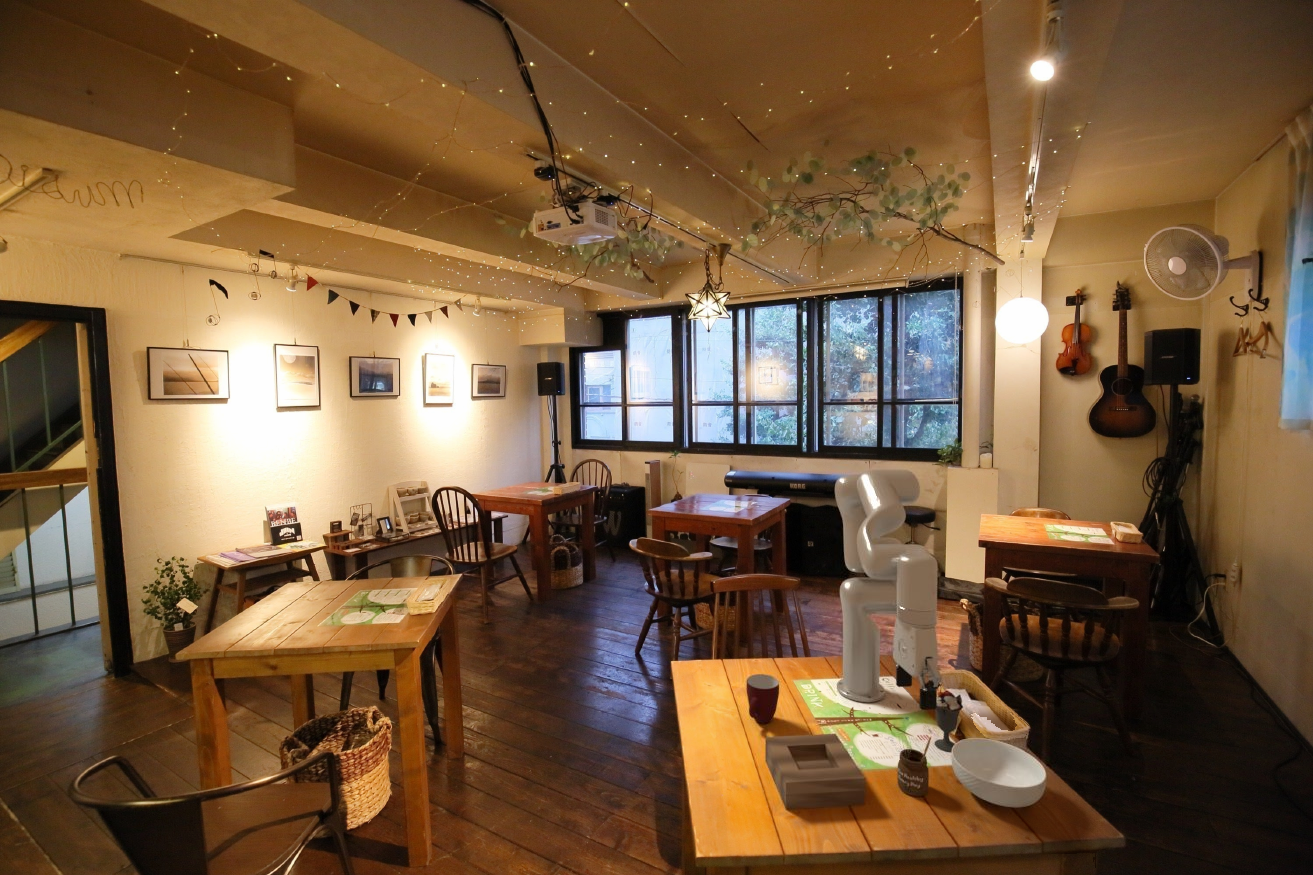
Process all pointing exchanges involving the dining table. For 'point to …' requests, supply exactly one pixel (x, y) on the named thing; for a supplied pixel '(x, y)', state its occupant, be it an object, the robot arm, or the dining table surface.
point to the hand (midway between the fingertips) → (915, 696)
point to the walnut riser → (814, 771)
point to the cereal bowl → (998, 772)
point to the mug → (762, 697)
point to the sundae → (947, 717)
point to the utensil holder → (913, 771)
